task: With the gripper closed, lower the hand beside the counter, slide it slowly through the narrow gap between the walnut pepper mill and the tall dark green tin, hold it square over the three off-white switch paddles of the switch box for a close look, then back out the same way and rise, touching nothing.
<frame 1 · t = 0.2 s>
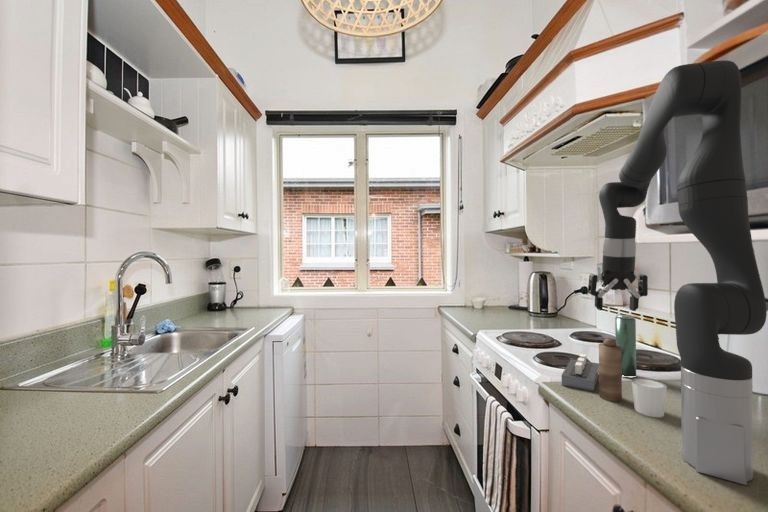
hand: (615, 309, 96), 22 cm above the countertop, tool pointing down, fingers open, 8 cm apart
middle paddle: (581, 363, 103), point 5 cm above the countertop, hinge at 0.0°
green tin: (625, 375, 105), on the countertop
near paddle: (578, 368, 99), point 5 cm above the countertop, hinge at 0.0°
switch box: (581, 378, 103), on the countertop
pepper mill: (610, 397, 89), on the countertop
white cup: (649, 412, 81), on the countertop
far paddle: (583, 359, 107), point 5 cm above the countertop, hinge at 0.0°
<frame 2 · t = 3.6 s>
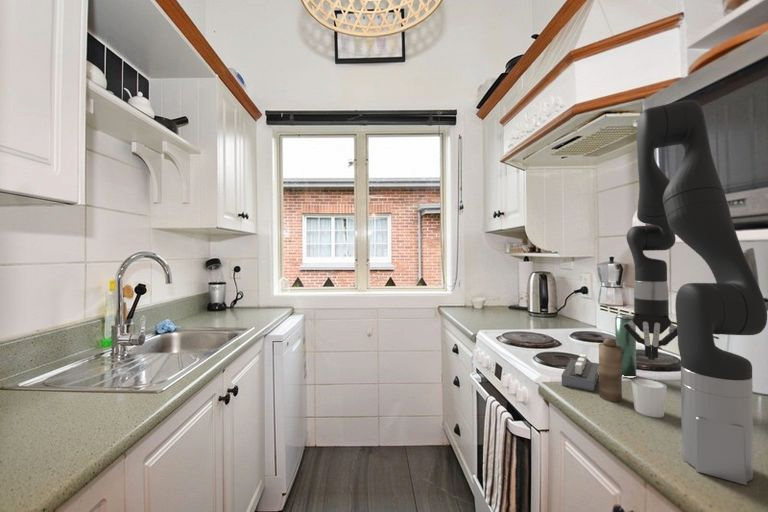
hand: (651, 359, 93), 9 cm above the countertop, tool pointing down, fingers closed
nothing on the countertop moved.
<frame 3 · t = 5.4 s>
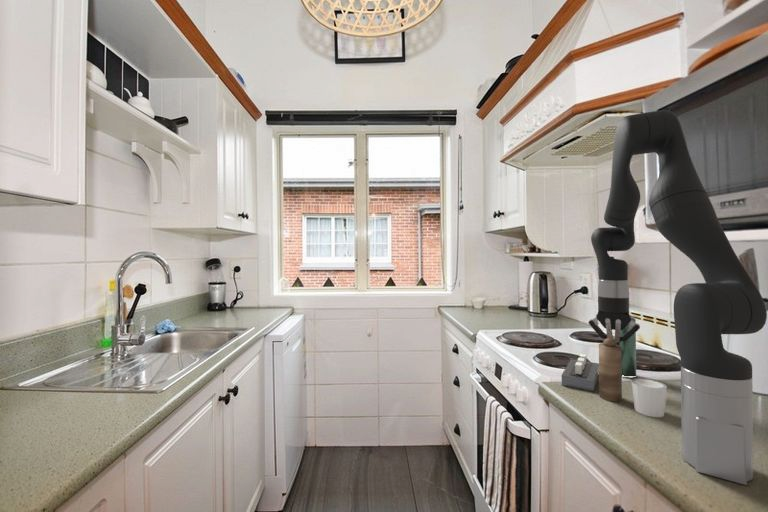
hand: (613, 353, 98), 9 cm above the countertop, tool pointing down, fingers closed
nothing on the countertop moved.
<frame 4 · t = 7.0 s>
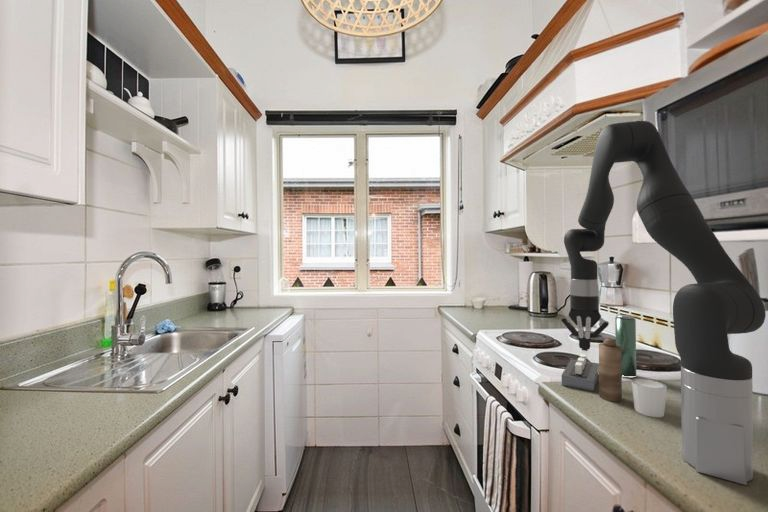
hand: (584, 350, 102), 9 cm above the countertop, tool pointing down, fingers closed
nothing on the countertop moved.
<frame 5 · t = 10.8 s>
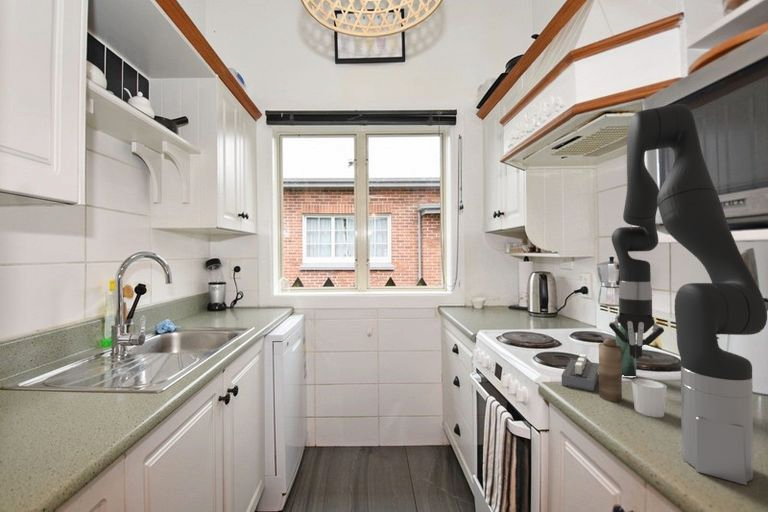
hand: (635, 357, 94), 9 cm above the countertop, tool pointing down, fingers closed
nothing on the countertop moved.
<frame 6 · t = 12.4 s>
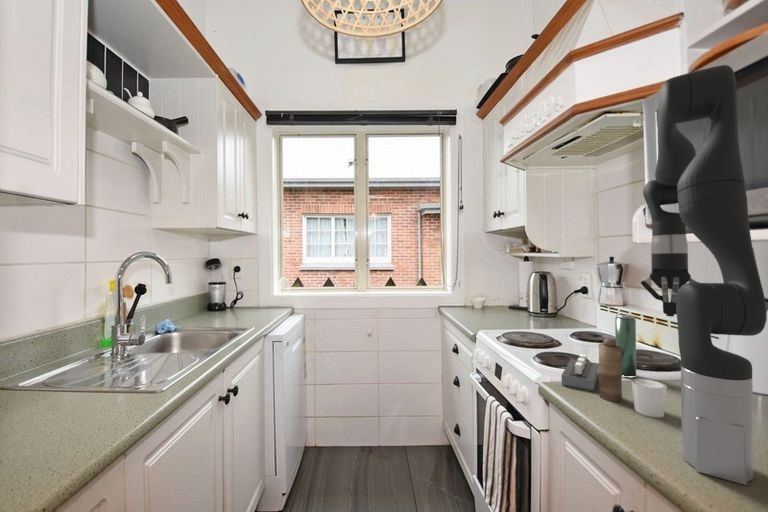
hand: (670, 315, 90), 22 cm above the countertop, tool pointing down, fingers closed
nothing on the countertop moved.
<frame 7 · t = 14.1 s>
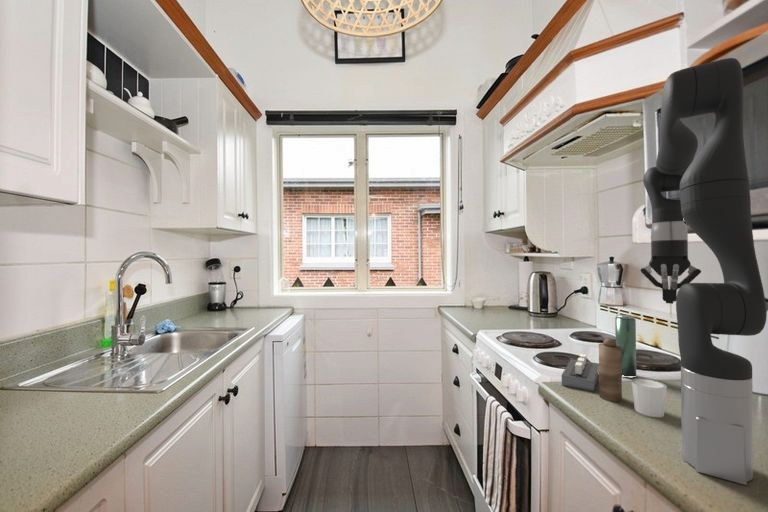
hand: (669, 303, 90), 25 cm above the countertop, tool pointing down, fingers closed
nothing on the countertop moved.
at the end: middle paddle at +0° (first picture: +0°); pepper mill moved 0.0 cm from its start; green tin moved 0.0 cm from its start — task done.
